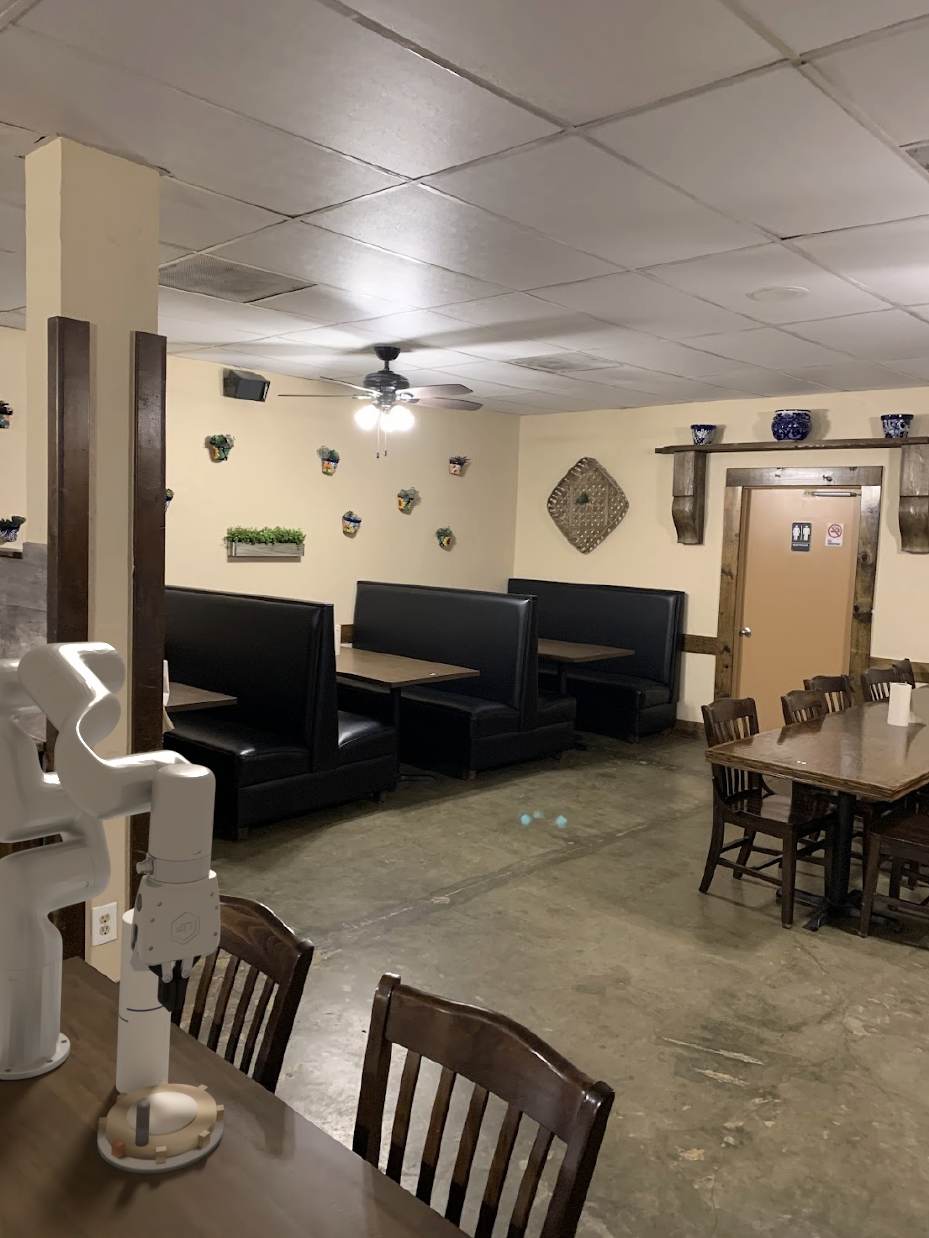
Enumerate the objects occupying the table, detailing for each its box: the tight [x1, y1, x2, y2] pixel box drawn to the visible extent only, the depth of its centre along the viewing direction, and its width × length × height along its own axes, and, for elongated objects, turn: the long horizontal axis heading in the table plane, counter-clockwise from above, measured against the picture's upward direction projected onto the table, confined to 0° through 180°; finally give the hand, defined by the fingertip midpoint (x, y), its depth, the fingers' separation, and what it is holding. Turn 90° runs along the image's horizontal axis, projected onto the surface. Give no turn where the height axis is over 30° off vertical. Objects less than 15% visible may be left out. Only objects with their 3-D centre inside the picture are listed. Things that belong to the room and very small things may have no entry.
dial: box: [97, 1079, 225, 1163], centre depth 125 cm, size 15×15×6 cm
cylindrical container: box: [115, 908, 174, 1094], centre depth 136 cm, size 7×7×25 cm
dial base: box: [96, 1118, 225, 1175], centre depth 126 cm, size 16×16×1 cm
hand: (170, 1005), depth 119 cm, fingers closed
